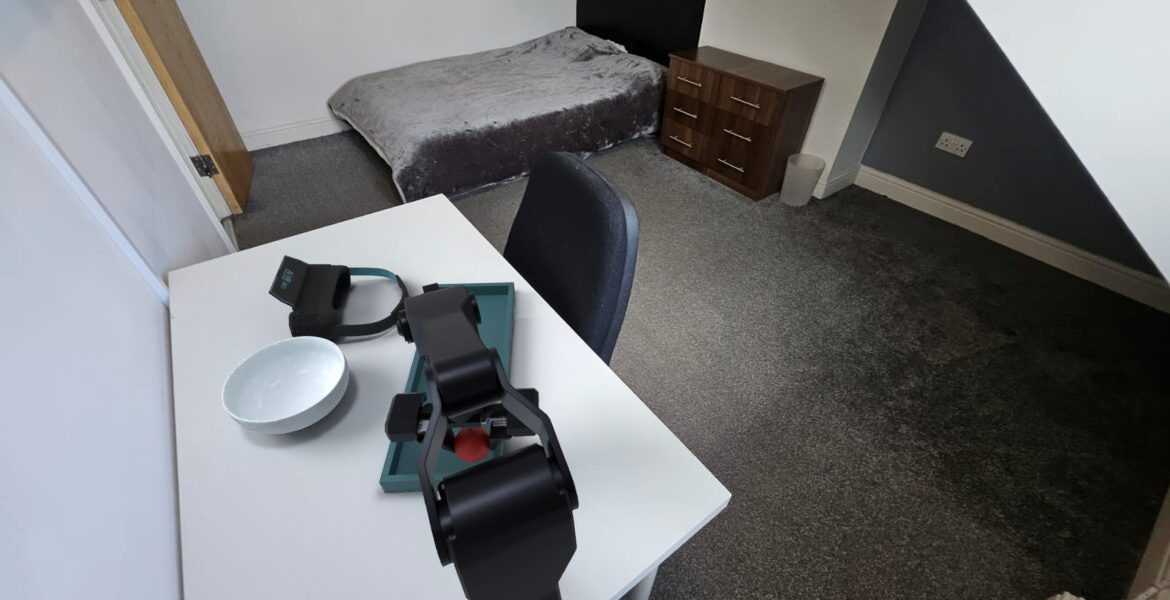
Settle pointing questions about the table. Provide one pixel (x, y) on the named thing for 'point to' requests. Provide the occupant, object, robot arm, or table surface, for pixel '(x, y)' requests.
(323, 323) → the virtual reality headset
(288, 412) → the cereal bowl
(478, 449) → the apple
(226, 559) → the table surface
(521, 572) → the robot arm
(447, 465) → the tray
